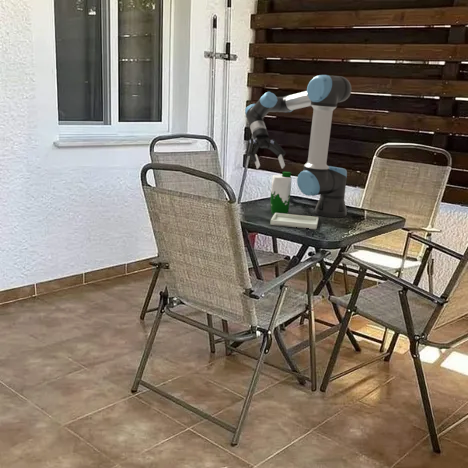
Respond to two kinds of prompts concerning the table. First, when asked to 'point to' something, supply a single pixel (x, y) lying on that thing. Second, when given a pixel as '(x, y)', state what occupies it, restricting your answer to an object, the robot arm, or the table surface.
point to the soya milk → (280, 193)
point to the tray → (294, 221)
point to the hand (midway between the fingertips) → (271, 166)
